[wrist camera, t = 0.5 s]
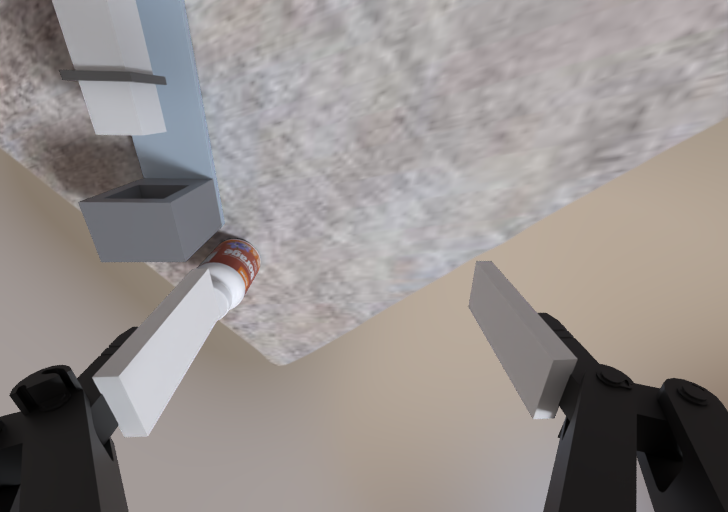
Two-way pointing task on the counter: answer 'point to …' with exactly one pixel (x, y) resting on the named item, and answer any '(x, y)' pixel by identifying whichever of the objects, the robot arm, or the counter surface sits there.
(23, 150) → the counter surface
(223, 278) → the pill bottle
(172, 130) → the mounting board
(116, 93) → the tube
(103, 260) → the socket
